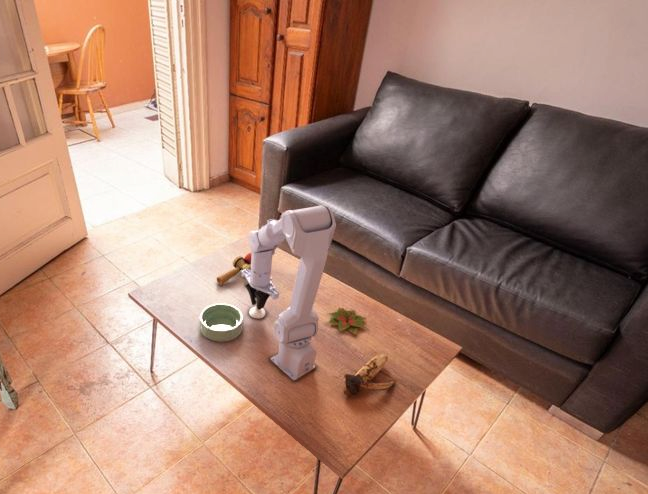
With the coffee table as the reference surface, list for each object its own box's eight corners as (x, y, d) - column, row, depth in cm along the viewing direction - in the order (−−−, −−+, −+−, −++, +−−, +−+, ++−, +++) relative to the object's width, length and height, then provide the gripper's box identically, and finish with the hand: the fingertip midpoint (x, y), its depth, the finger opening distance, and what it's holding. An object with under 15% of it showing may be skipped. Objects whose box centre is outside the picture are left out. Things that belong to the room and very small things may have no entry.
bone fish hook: (365, 413, 103) (404, 374, 112) (370, 402, 100) (409, 362, 109) (334, 390, 108) (373, 354, 117) (338, 378, 105) (378, 342, 114)
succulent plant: (372, 319, 129) (376, 307, 126) (358, 341, 122) (361, 329, 119) (335, 304, 134) (338, 293, 131) (319, 325, 127) (322, 313, 124)
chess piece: (264, 319, 128) (266, 293, 122) (248, 317, 129) (249, 290, 123) (266, 309, 132) (268, 283, 126) (250, 307, 133) (252, 281, 126)
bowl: (250, 331, 124) (251, 319, 121) (216, 348, 119) (216, 337, 116) (225, 309, 132) (225, 298, 129) (192, 325, 126) (191, 313, 123)
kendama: (229, 294, 140) (268, 267, 147) (225, 278, 136) (265, 252, 143) (214, 286, 145) (253, 261, 153) (210, 271, 141) (249, 246, 149)
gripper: (289, 275, 117) (284, 313, 126) (255, 252, 126) (252, 289, 135) (269, 284, 114) (266, 322, 123) (236, 260, 123) (235, 297, 132)
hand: (257, 305), depth 129 cm, fingers closed on chess piece
